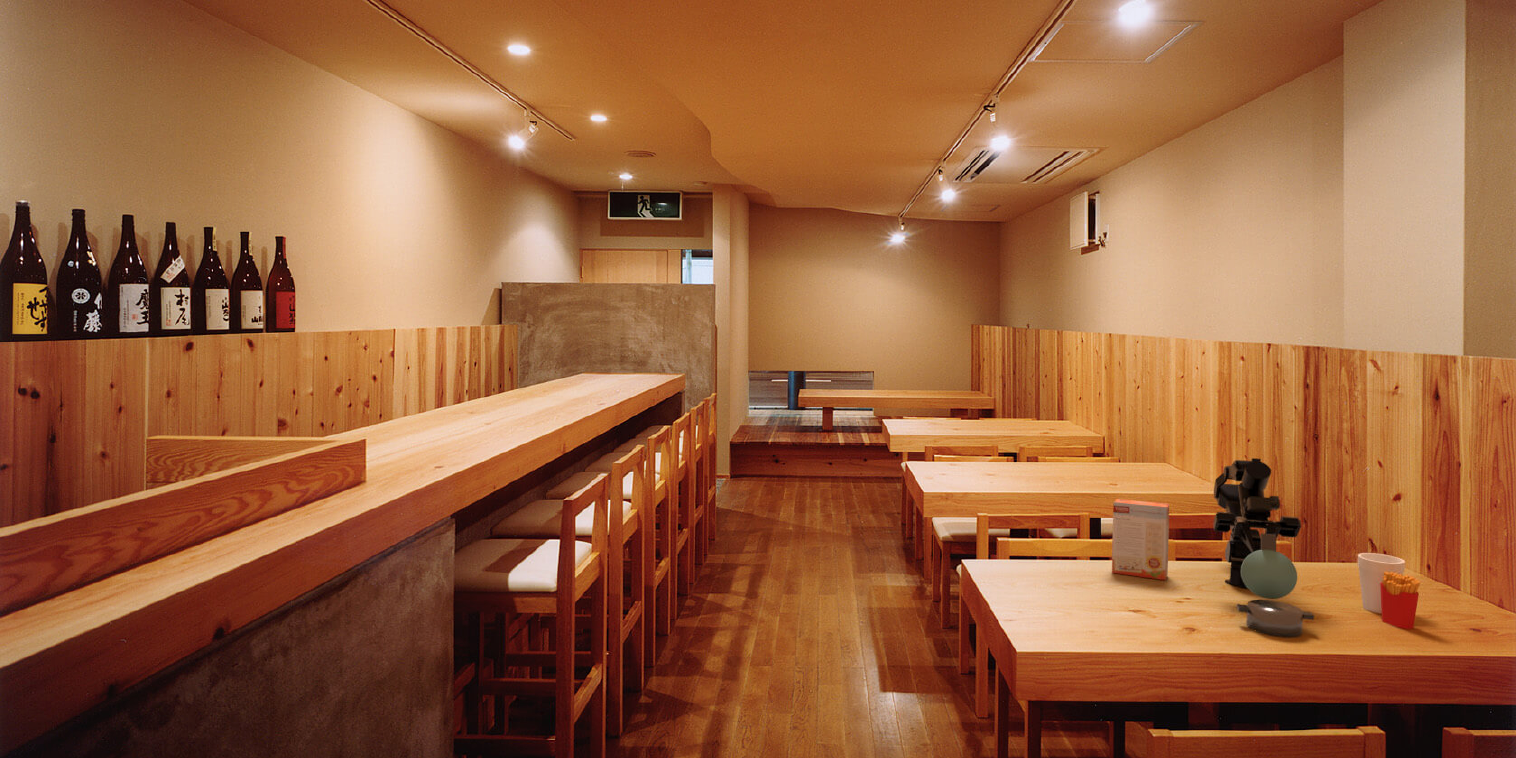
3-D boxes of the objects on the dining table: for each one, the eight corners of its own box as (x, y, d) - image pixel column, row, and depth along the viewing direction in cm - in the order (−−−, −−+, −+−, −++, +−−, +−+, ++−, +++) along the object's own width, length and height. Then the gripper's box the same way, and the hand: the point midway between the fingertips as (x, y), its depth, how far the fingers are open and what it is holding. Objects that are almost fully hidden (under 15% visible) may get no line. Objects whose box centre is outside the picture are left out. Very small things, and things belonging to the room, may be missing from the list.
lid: (1241, 596, 196) (1240, 595, 198) (1297, 601, 192) (1296, 601, 194) (1241, 532, 198) (1240, 532, 199) (1297, 536, 194) (1295, 536, 195)
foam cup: (1389, 618, 196) (1392, 565, 195) (1347, 606, 204) (1349, 556, 203) (1410, 612, 200) (1412, 560, 200) (1367, 600, 209) (1370, 551, 208)
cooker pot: (1232, 615, 198) (1232, 595, 198) (1303, 623, 193) (1304, 602, 193) (1242, 632, 187) (1242, 611, 187) (1318, 641, 182) (1319, 619, 182)
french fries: (1374, 618, 196) (1377, 569, 195) (1389, 617, 197) (1391, 569, 196) (1408, 631, 188) (1410, 580, 187) (1422, 630, 188) (1425, 579, 188)
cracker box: (1167, 575, 230) (1170, 503, 228) (1165, 581, 225) (1167, 507, 223) (1114, 567, 237) (1116, 497, 236) (1111, 573, 232) (1113, 501, 231)
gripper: (1216, 481, 211) (1223, 533, 201) (1300, 486, 204) (1311, 540, 195) (1210, 504, 219) (1216, 555, 209) (1291, 510, 212) (1301, 563, 203)
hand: (1260, 553), depth 204 cm, fingers open, 3 cm apart
